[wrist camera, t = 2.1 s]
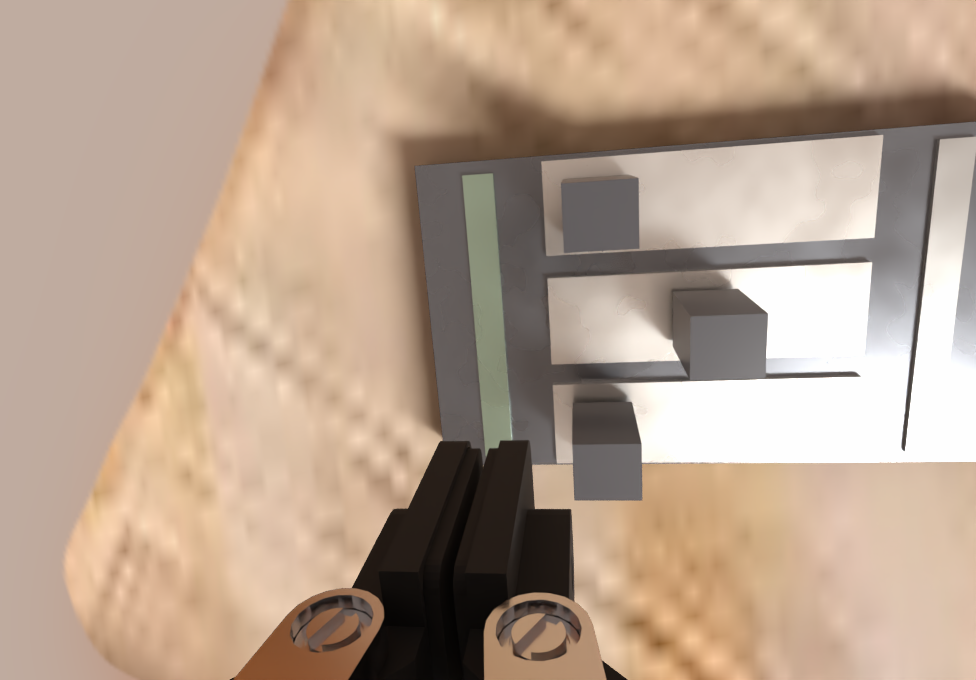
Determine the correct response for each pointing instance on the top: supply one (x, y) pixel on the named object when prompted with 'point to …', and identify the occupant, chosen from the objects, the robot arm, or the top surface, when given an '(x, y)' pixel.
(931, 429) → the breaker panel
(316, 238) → the top surface
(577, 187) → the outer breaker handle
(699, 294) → the handle
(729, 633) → the top surface
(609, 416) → the handle
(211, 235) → the top surface
